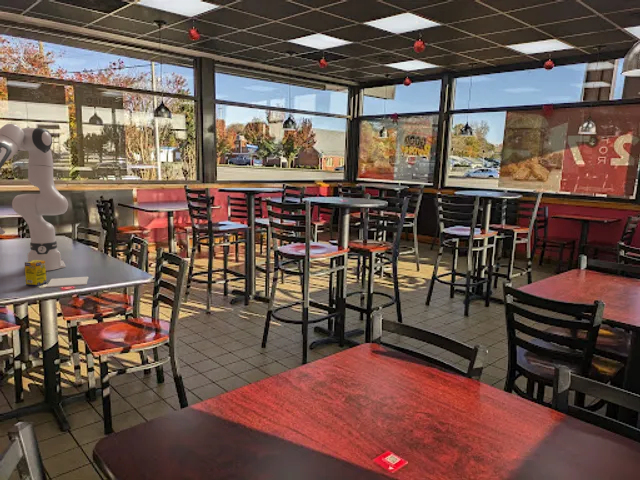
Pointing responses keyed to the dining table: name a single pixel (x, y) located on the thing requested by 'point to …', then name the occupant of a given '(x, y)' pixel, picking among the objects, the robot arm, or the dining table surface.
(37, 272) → the supplement box
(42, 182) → the robot arm
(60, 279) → the mat
